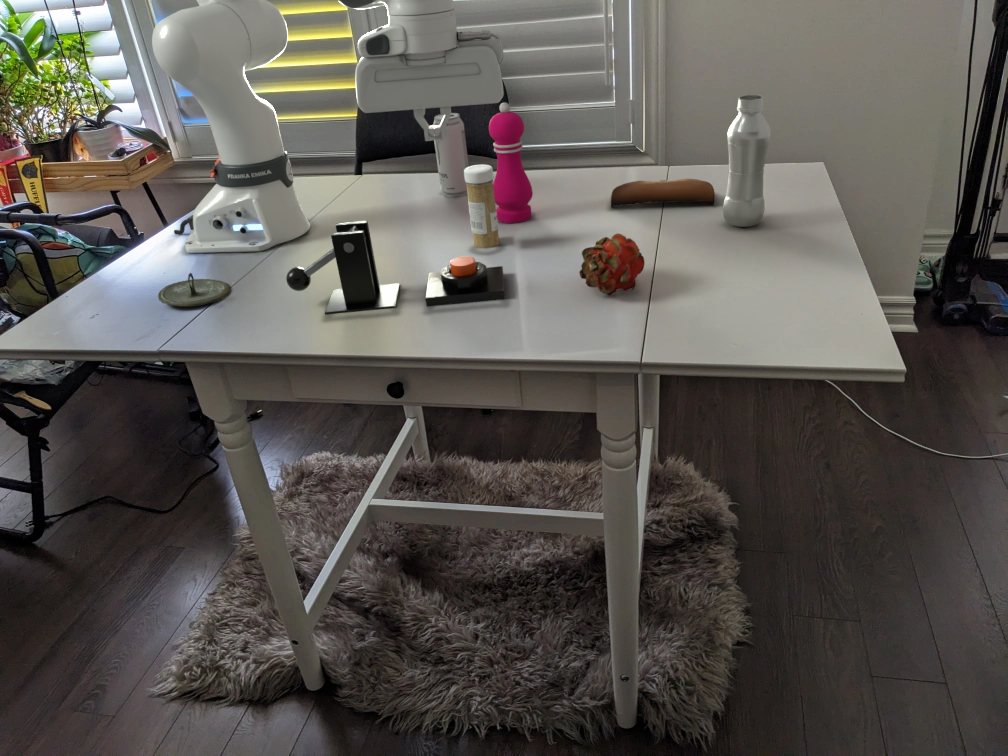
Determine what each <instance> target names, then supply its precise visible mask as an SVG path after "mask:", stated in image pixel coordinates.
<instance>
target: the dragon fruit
mask: <svg viewBox="0 0 1008 756" xmlns="http://www.w3.org/2000/svg"><path fill="white" fill-rule="evenodd" d="M581 256H582V258H583V262H582V264H581V266H580V267H581V269H580V270H579V272H578V273H579V276H580V278H581V280H585V284H586V286H587V287H589V288H596V289H597V288H598V289H597V290H599V292H600V293H602V294H605V295H607V296H612V295H614V294H616V293H617V291H618V290H622V291H624V292H625V291H629V290H630V292H631V291H633V290H635V288H636V286H637V283H636V279H637V277H638V275H640V274H641V273H642V272H643V271H644V268H645V258H644V255H642V252H640V248H639V246H638V244H637V243H636V242H635V241H634V239H632V238H630V237H629V238H627V237H626V235H624V234H621V233H615V234H613V236H611V238H609V237H607V236H605V237H602V238H601V239H599V240H597V241H596V242H595V245H594V246H590V247H585V248H583V249H582V251H581Z"/></svg>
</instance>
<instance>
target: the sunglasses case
mask: <svg viewBox="0 0 1008 756" xmlns="http://www.w3.org/2000/svg"><path fill="white" fill-rule="evenodd" d="M715 194H716V193H715V189H714V186H713V184H711V183H710V182H709V181H705V180H701V179H695V178H679V179H673V180H665V179H664V180H663V179H662V180H661V179H660V180H659V181H654V180H653V181H652V180H634V181H630V182H626V183H623V184H620V185H617V186H615V187H614V188H613V189H612V192H611V196H610V197H611V198H610V208H614V207H619V206H629V205H636V204H639V205H640V204H646V203H674V202H675V203H689V202H691V203H692V202H708V203H709V202H712V204H713V205H715V197H716V196H715Z"/></svg>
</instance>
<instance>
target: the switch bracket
mask: <svg viewBox="0 0 1008 756" xmlns="http://www.w3.org/2000/svg"><path fill="white" fill-rule="evenodd" d="M353 226H356V227H357V228H358V230H359V231H351V232H347V231H348V230H349V229H351V228H352V227H353ZM335 229H336V232H332V233H331V235H330V238H331V242H332V246H333V248H334V253H335V262H336V266H337V271H338V275H339V280H340V281H339V282H340V285H341V288H335V289H332V292H331V295H330V298H329V299H328V300H329V301H328V303H327V305H326V307H325V310H324V315H335V314H346V313H356V312H368V311H378V310H391V309H396V305H397V303H398V302H397V301H398V297H399V292H400V287H401V283H399V282H398V283H390V284H389V283H388V284H380V281H379V276H378V271H377V265H376V260H375V254H374V249H373V243H372V238H371V232H370V227H369V222H368V220H357V221H349V222H348V221H347V222H338V223H336V224H335ZM365 238H366V240H365ZM333 248H332V249H333Z"/></svg>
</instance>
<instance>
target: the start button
mask: <svg viewBox="0 0 1008 756" xmlns="http://www.w3.org/2000/svg"><path fill="white" fill-rule="evenodd" d="M475 262H476V259H475V258H474V257H472V256H464V255H463V256H458V257H455V258H453V259H451V260H450V262H449V265H450V267H451V274H452V275H455V276H466V275H470V274H473V273H475V272H476V263H475Z"/></svg>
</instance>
